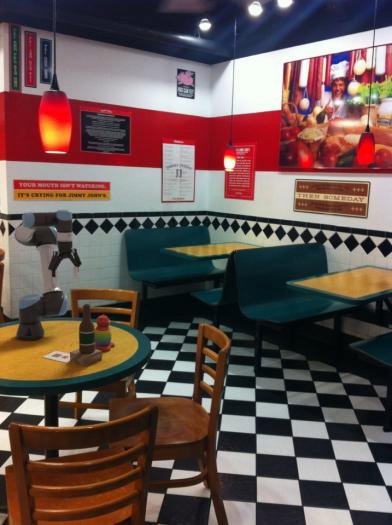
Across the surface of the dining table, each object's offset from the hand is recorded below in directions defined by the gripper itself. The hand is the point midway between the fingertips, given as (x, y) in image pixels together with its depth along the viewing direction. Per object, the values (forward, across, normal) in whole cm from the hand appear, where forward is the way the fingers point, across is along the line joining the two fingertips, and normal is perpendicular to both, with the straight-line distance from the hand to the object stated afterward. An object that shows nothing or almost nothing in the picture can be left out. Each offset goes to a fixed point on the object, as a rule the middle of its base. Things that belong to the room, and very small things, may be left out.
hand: (65, 281), depth 263 cm
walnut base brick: (+37, -6, -20) cm, 42 cm away
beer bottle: (+32, -5, -21) cm, 39 cm away
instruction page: (+37, -10, -7) cm, 39 cm away
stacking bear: (+37, +13, -14) cm, 42 cm away
